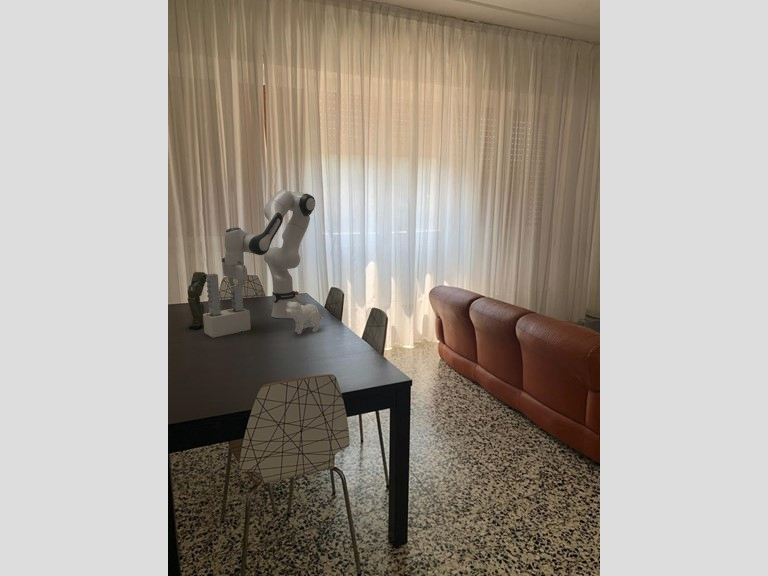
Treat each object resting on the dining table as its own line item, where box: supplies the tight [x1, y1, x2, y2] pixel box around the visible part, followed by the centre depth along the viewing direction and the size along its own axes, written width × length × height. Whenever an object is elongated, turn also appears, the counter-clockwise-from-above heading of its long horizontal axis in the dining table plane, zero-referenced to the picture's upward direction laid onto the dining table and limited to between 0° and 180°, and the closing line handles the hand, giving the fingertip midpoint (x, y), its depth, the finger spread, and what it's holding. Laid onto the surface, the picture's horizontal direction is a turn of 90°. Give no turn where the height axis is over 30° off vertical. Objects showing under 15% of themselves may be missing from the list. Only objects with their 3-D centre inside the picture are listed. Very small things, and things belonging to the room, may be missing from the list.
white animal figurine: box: [286, 301, 324, 335], centre depth 226 cm, size 25×10×17 cm, turn 141°
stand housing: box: [203, 307, 252, 338], centre depth 225 cm, size 20×10×11 cm, turn 134°
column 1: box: [205, 273, 222, 317], centre depth 217 cm, size 4×4×22 cm
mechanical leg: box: [187, 271, 207, 331], centre depth 231 cm, size 14×7×30 cm, turn 169°
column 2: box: [230, 285, 244, 312], centre depth 227 cm, size 4×4×22 cm
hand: (236, 287), depth 225 cm, fingers open, 8 cm apart
